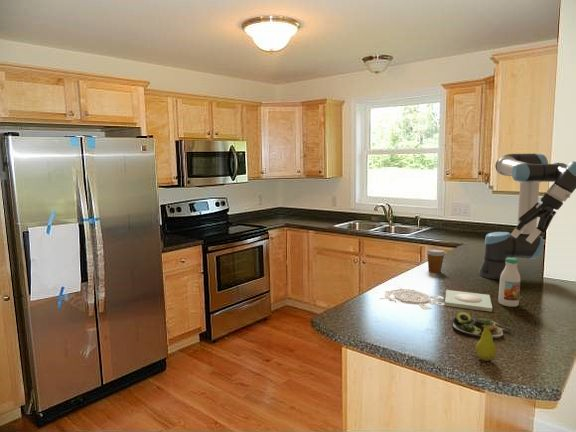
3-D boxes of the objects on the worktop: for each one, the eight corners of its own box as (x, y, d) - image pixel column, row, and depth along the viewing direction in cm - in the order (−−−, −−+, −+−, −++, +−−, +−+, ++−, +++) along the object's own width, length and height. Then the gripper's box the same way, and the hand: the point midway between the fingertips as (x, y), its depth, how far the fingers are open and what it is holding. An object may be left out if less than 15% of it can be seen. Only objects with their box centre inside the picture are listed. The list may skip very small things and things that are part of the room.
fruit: (492, 366, 121) (495, 328, 120) (472, 360, 125) (474, 322, 124) (497, 359, 126) (501, 322, 124) (478, 353, 130) (480, 317, 128)
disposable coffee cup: (436, 268, 231) (437, 248, 230) (447, 273, 223) (448, 251, 221) (421, 270, 228) (423, 249, 227) (433, 274, 220) (434, 252, 218)
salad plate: (507, 325, 153) (508, 313, 153) (514, 344, 137) (515, 331, 136) (452, 317, 160) (452, 306, 160) (452, 335, 144) (453, 322, 143)
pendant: (393, 287, 199) (393, 284, 199) (452, 299, 182) (452, 296, 181) (372, 298, 183) (372, 295, 183) (435, 313, 165) (435, 309, 165)
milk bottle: (495, 304, 175) (499, 258, 172) (501, 299, 180) (504, 255, 178) (515, 308, 170) (519, 261, 167) (520, 303, 175) (524, 258, 172)
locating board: (446, 292, 189) (446, 289, 189) (489, 298, 182) (489, 294, 182) (444, 305, 173) (445, 301, 172) (492, 311, 166) (492, 307, 165)
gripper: (550, 194, 156) (514, 239, 164) (575, 208, 171) (541, 249, 178) (533, 185, 162) (499, 228, 169) (559, 199, 176) (527, 239, 184)
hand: (521, 239), depth 174 cm, fingers open, 13 cm apart
